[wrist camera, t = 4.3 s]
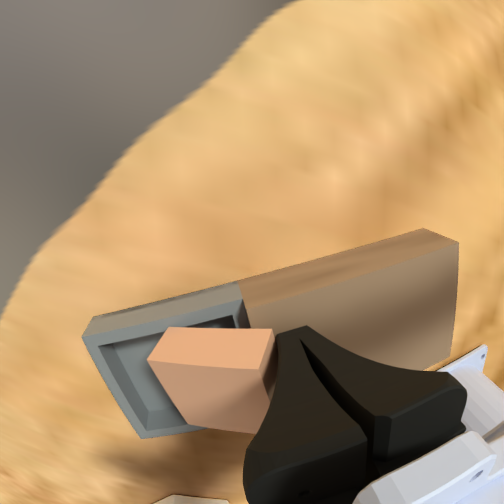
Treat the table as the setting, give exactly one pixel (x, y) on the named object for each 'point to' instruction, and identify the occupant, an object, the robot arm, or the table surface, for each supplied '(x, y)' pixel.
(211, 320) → the tray
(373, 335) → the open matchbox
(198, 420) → the peach flat square block
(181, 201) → the table surface
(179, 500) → the jar
